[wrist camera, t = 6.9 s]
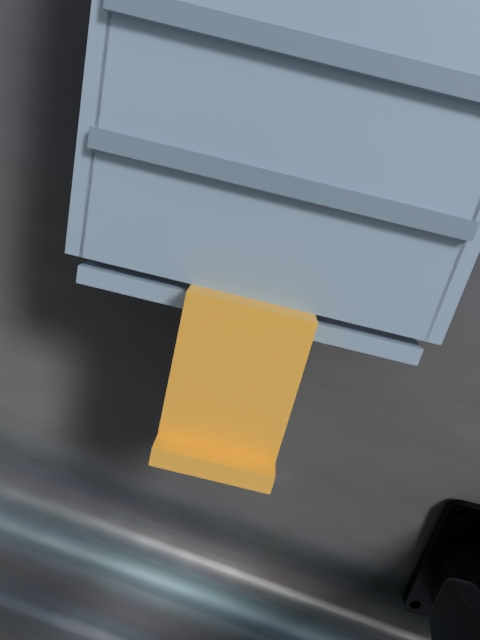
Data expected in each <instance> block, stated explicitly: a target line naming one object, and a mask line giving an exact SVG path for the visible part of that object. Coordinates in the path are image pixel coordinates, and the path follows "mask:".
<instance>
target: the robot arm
mask: <svg viewBox="0 0 480 640" xmlns="http://www.w3.org/2000/svg"><path fill="white" fill-rule="evenodd" d="M458 510H461V511H460V512H458V513H455V512H456V511H458ZM403 601H404V604H405V607H406V609H407V610H408V611H410V612H413V613H417V614H422V615H426V616H429V627H430V633H431V639H432V640H480V504H476V503H472V502H468V501H464V500H457V499H455V500H451V501H450V502H448V503H447V504H446V505H445V507H444V509H443V512H442V514H441V516H440V518H439V520H438V522H437V524H436V526H435V528H434V531H433V533H432V535H431V537H430V539H429V541H428V543H427V545H426V547H425V550H424V552H423V554H422V556H421V558H420V560H419V562H418V564H417V567H416V569H415V571H414V573H413V575H412V577H411V579H410V581H409V583H408V586H407V588H406V590H405V592H404V594H403Z"/></svg>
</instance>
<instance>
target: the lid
mask: <svg viewBox="0 0 480 640" xmlns="http://www.w3.org/2000/svg"><path fill="white" fill-rule="evenodd" d="M479 251H480V0H92V1H91V10H90V20H89V29H88V38H87V48H86V57H85V67H84V76H83V85H82V95H81V104H80V114H79V123H78V132H77V142H76V151H75V160H74V170H73V179H72V189H71V198H70V207H69V217H68V226H67V236H66V245H65V253H66V254H70V255H74V256H78V257H82V258H86V259H90V260H88V261H86V262H84V263H82V264H80V265H78V269H77V277H76V283H79V284H83V285H87V286H91V287H95V288H99V289H104V290H108V291H112V292H116V293H120V294H124V295H128V296H132V297H136V298H140V299H145V300H149V301H153V302H157V303H161V304H165V305H169V306H173V307H177V308H181V309H183V310H182V315H181V320H180V325H179V330H178V335H177V340H176V345H175V350H174V355H173V360H172V365H171V370H170V375H169V380H168V385H167V390H166V395H165V400H164V405H163V410H162V415H161V420H160V425H159V430H158V435H157V437H156V439H155V441H154V444H153V446H152V449H151V454H150V459H149V464H148V465H149V466H153V467H157V468H162V469H166V470H170V471H174V472H178V473H182V474H187V475H191V476H195V477H199V478H203V479H207V480H211V481H216V482H220V483H224V484H228V485H232V486H236V487H241V488H245V489H249V490H253V491H257V492H261V493H266V494H270V493H271V490H272V487H273V483H274V480H275V462H276V459H277V456H278V452H279V449H280V446H281V443H282V439H283V436H284V433H285V430H286V426H287V423H288V420H289V417H290V413H291V410H292V407H293V404H294V400H295V397H296V394H297V391H298V387H299V384H300V381H301V378H302V374H303V371H304V368H305V365H306V361H307V358H308V355H309V352H310V348H311V345H312V342H313V341H317V342H321V343H325V344H329V345H333V346H337V347H341V348H346V349H350V350H354V351H358V352H362V353H366V354H370V355H374V356H378V357H382V358H387V359H391V360H395V361H399V362H403V363H407V364H411V365H415V366H418V363H419V361H420V358H421V355H422V353H423V349H422V347H421V346H420V345H419V344H418V343H417V341H416V340H415V339H418V340H422V341H426V342H430V343H434V344H438V345H441V344H442V342H443V339H444V337H445V334H446V332H447V329H448V327H449V325H450V322H451V320H452V317H453V315H454V312H455V310H456V308H457V305H458V303H459V300H460V298H461V295H462V293H463V290H464V288H465V286H466V283H467V281H468V278H469V276H470V273H471V271H472V269H473V266H474V264H475V261H476V259H477V256H478V254H479Z"/></svg>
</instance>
